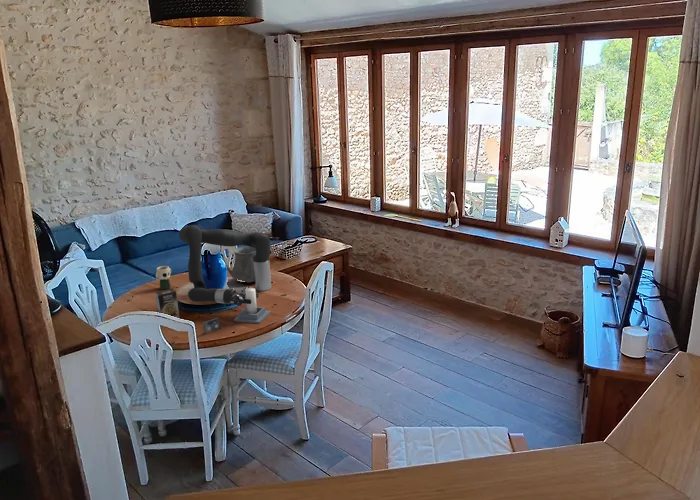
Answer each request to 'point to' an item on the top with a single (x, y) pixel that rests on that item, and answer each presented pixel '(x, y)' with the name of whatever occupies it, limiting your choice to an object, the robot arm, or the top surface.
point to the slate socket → (252, 316)
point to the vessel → (243, 264)
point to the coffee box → (167, 302)
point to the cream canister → (253, 306)
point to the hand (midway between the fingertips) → (254, 298)
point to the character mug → (163, 276)
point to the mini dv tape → (211, 325)
